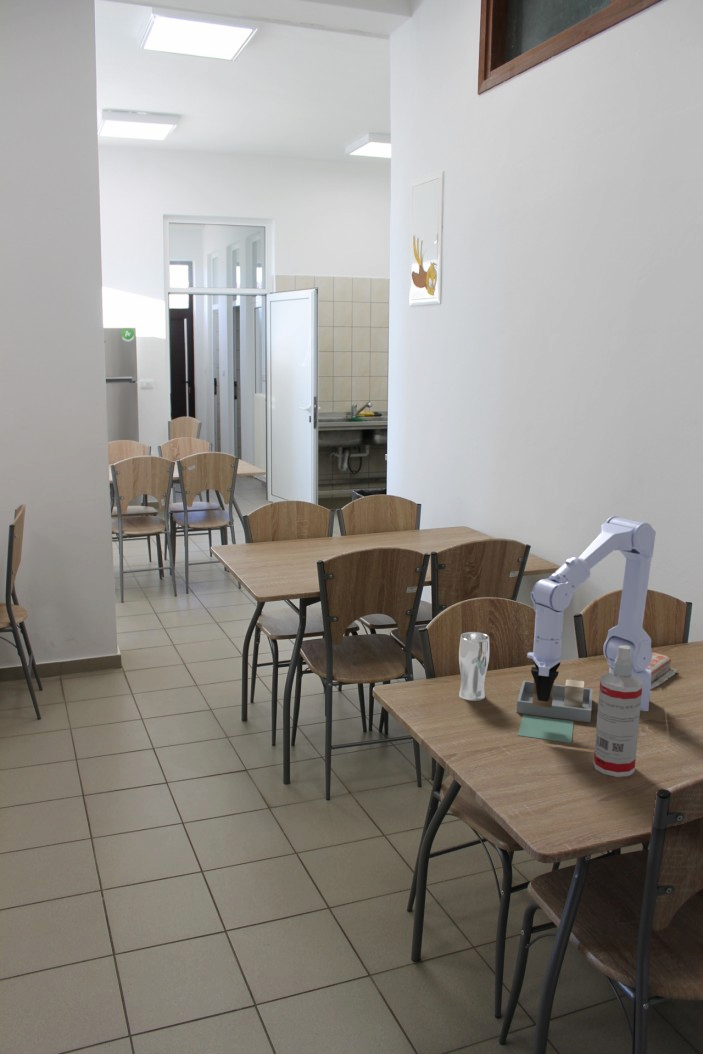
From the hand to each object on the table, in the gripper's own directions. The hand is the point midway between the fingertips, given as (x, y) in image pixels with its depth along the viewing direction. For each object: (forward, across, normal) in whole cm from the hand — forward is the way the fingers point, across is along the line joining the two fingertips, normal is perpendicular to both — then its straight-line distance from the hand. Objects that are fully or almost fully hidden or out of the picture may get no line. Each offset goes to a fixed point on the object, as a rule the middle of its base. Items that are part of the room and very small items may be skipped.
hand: (543, 696), depth 190 cm
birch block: (+7, -12, +6) cm, 15 cm away
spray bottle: (+8, +14, +15) cm, 22 cm away
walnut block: (+2, 0, 0) cm, 2 cm away
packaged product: (+8, -40, +22) cm, 46 cm away
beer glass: (+8, -12, -17) cm, 22 cm away
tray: (+7, -12, +2) cm, 14 cm away
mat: (+7, +1, +1) cm, 7 cm away
